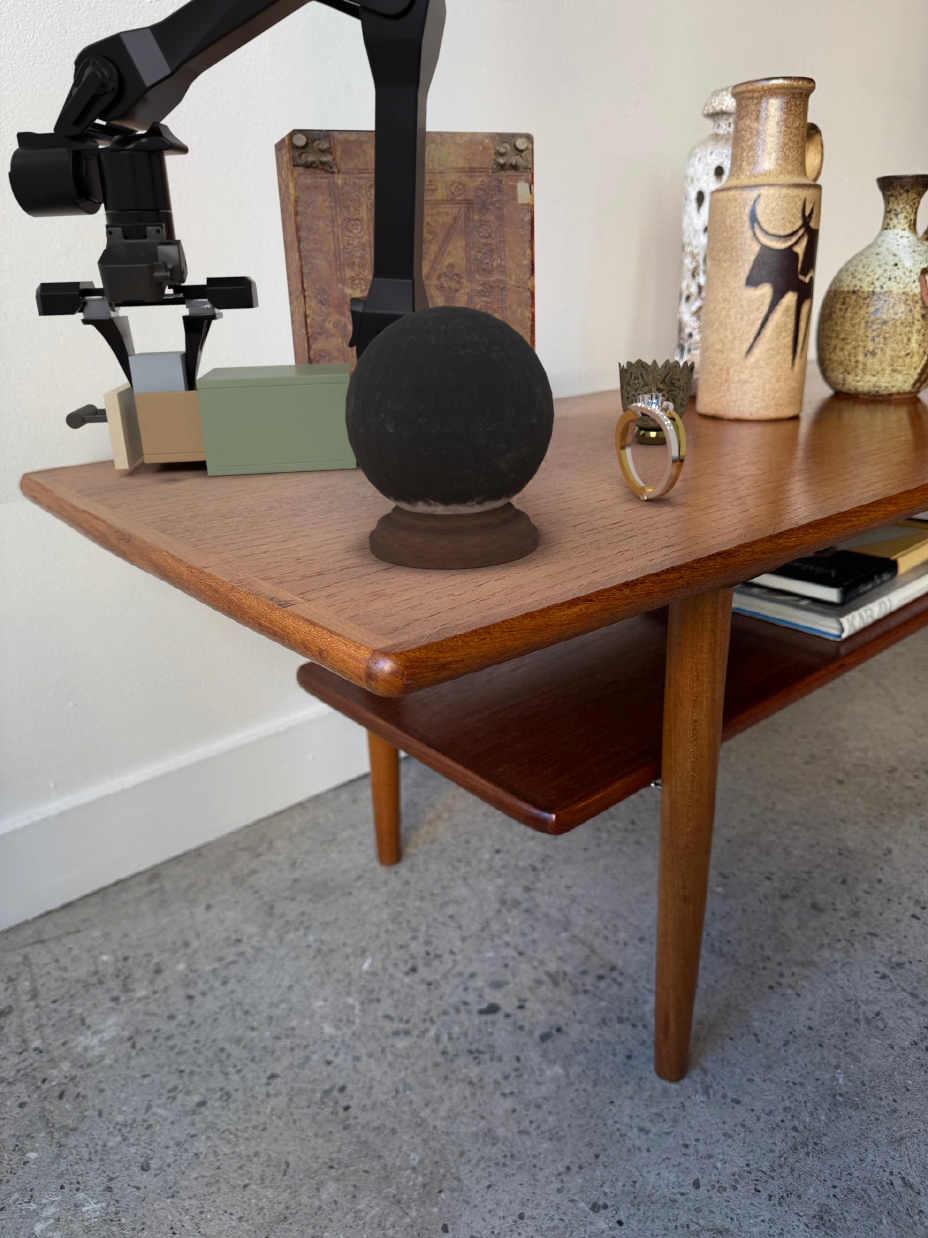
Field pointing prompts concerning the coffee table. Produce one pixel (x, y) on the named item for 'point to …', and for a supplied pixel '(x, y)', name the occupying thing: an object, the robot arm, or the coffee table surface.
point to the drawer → (147, 425)
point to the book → (452, 230)
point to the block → (158, 371)
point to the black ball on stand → (450, 436)
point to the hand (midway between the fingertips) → (164, 392)
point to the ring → (673, 437)
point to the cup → (653, 379)
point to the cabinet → (275, 418)
